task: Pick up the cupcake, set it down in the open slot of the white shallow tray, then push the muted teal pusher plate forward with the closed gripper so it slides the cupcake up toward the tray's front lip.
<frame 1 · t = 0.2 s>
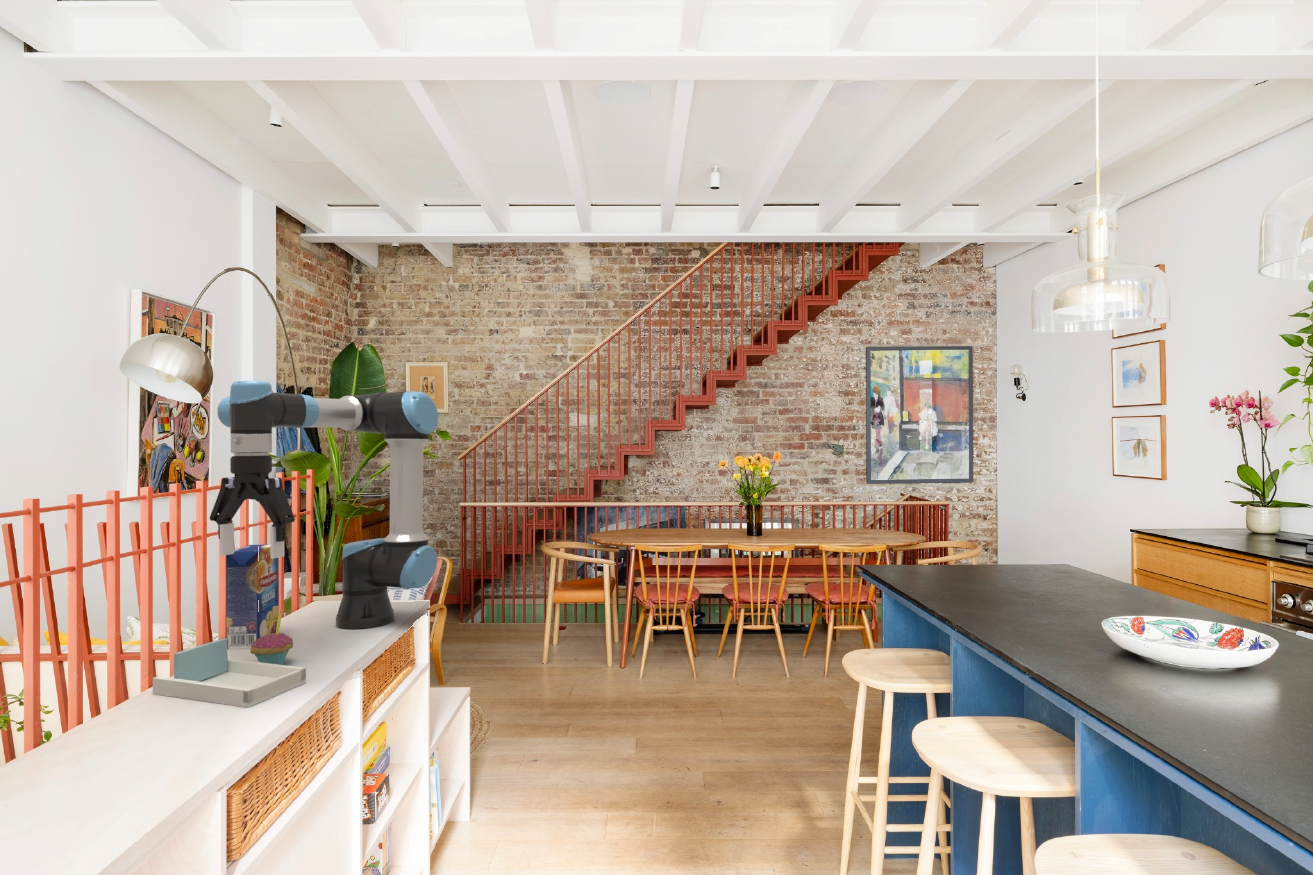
hand: (251, 556, 144), 27 cm above the sideboard, fingers open, 13 cm apart
cupcake: (272, 666, 156), on the sideboard
white shallow tray: (230, 688, 142), on the sideboard
pusher: (194, 661, 145), point 5 cm above the sideboard, slide at 0.0 cm
juice carton: (253, 642, 175), on the sideboard
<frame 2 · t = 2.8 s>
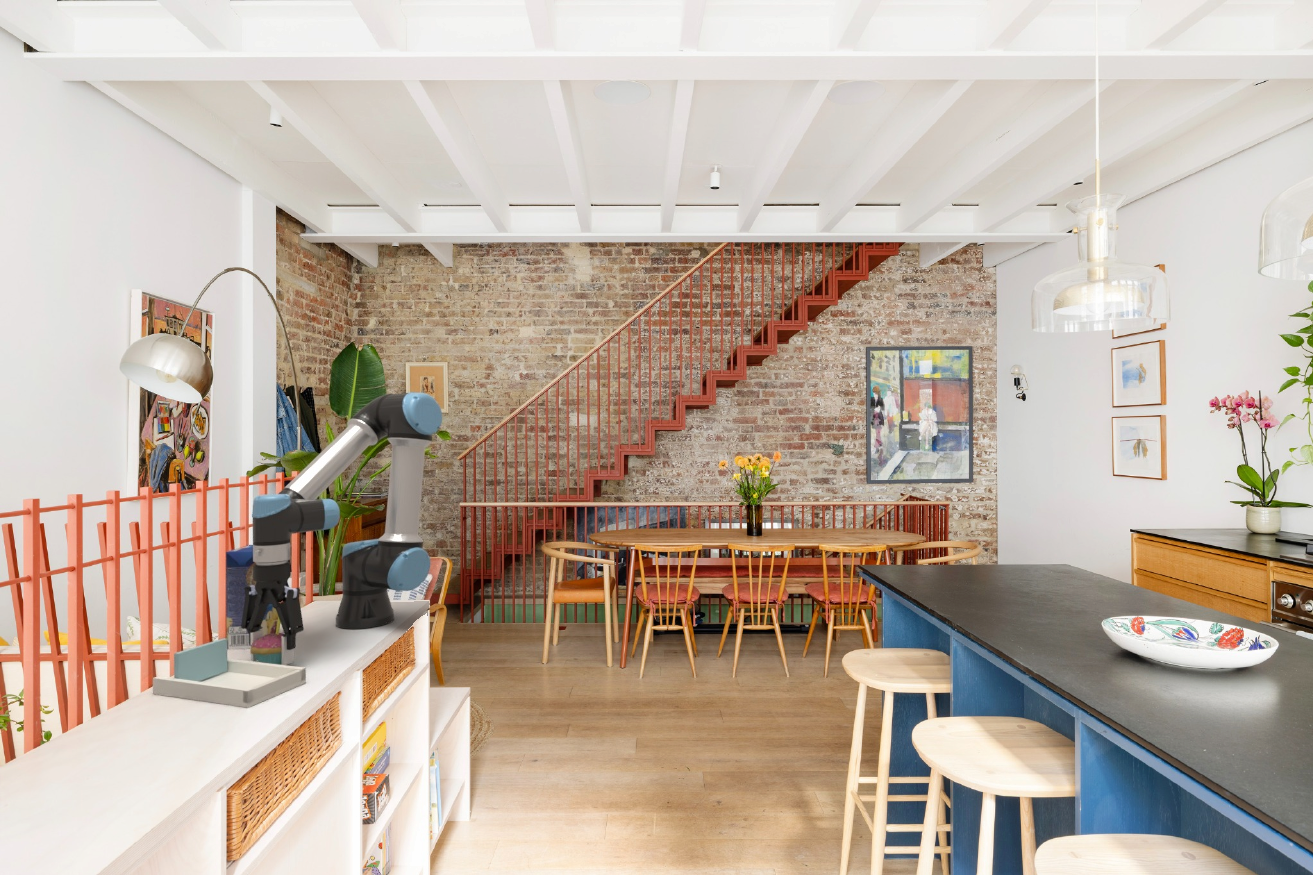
hand: (272, 661, 156), 1 cm above the sideboard, fingers closed on cupcake, 8 cm apart
cupcake: (272, 666, 156), on the sideboard, touching gripper
everything else where it was.
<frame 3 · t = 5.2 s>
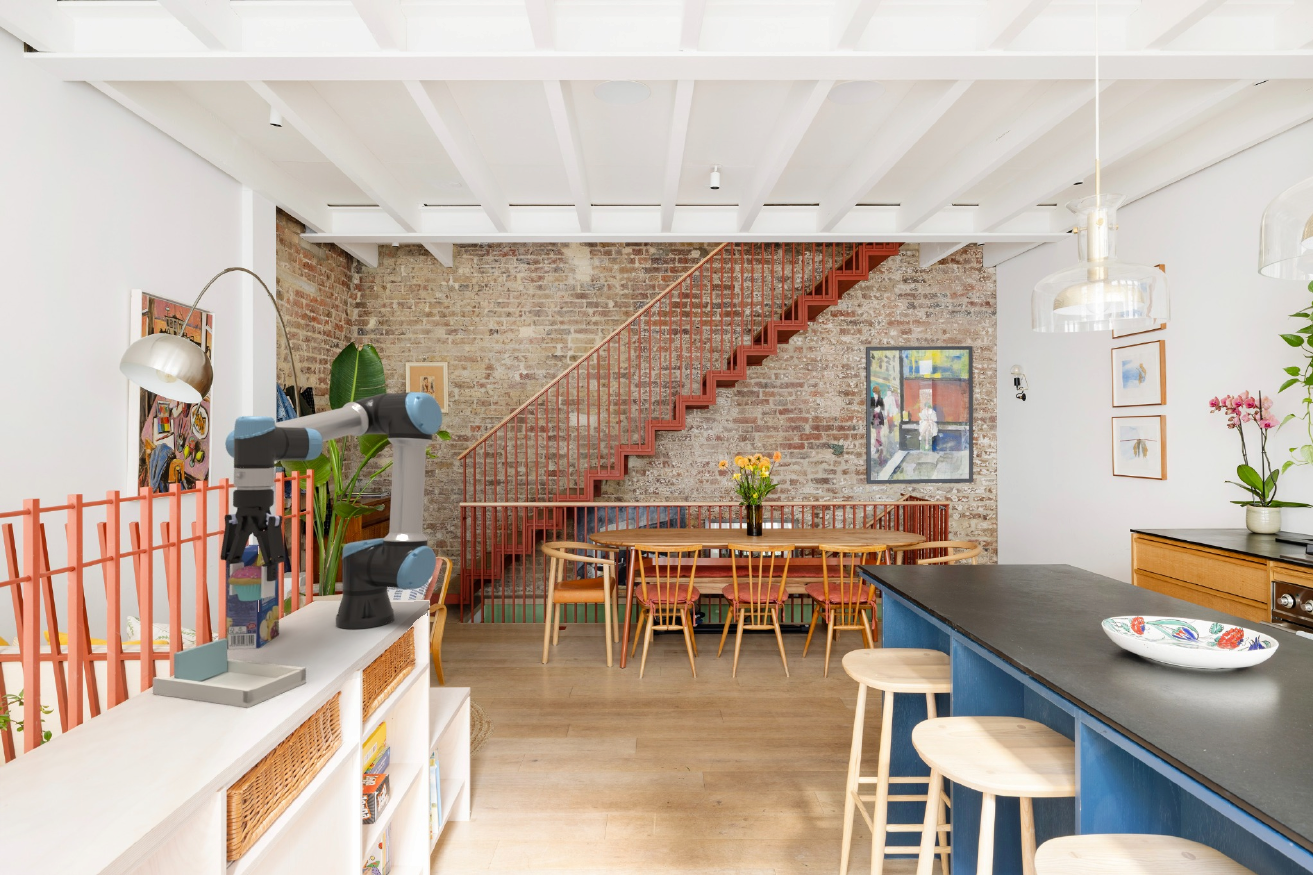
hand: (252, 595, 146), 18 cm above the sideboard, fingers closed on cupcake, 8 cm apart
cupcake: (252, 599, 146), point 17 cm above the sideboard, touching gripper
everything else where it was.
when the fingers open (4 cm above the sideboard, at t = 7.5 s): cupcake drops 2 cm, resting on white shallow tray.
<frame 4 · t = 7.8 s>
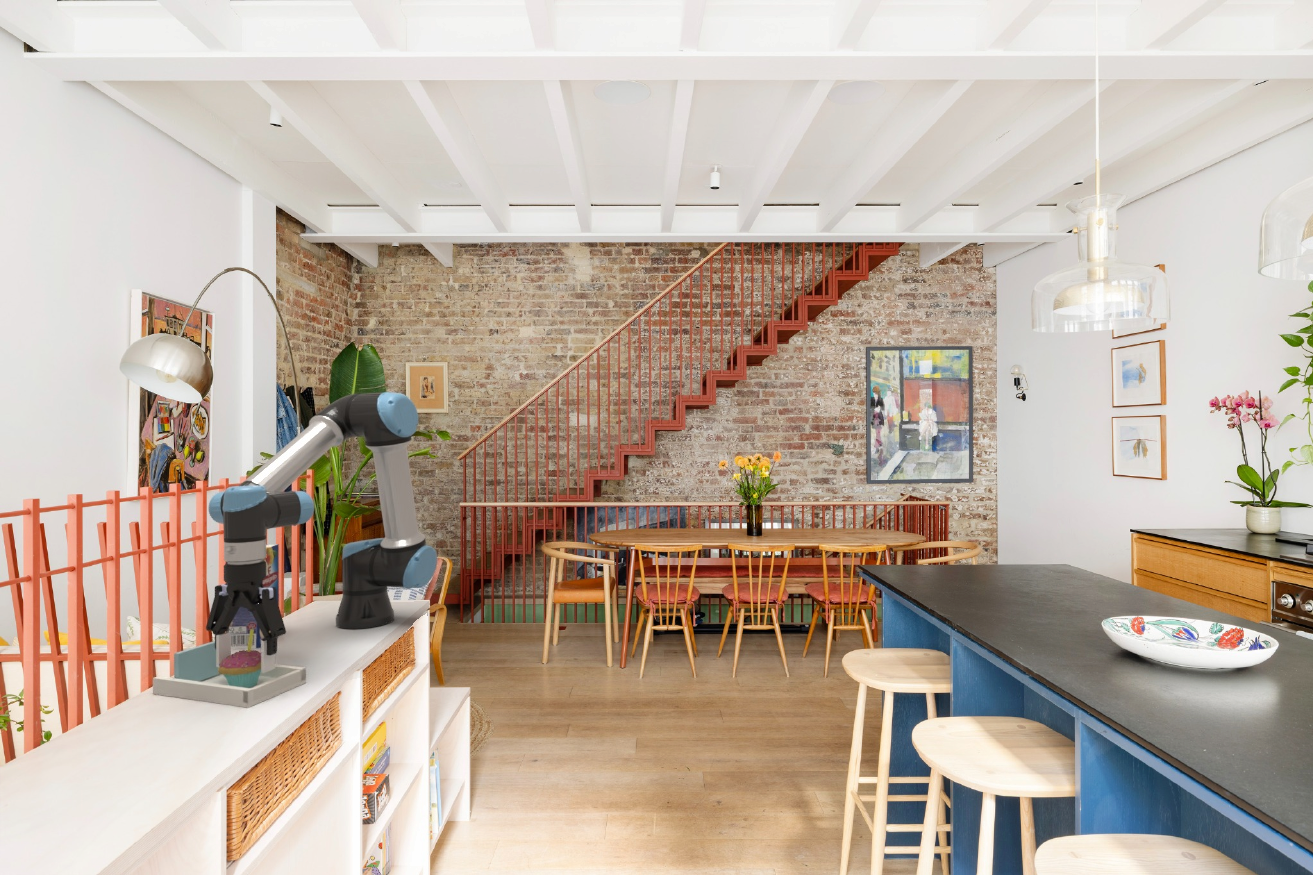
hand: (245, 667, 141), 5 cm above the sideboard, fingers open, 11 cm apart
cupcake: (243, 687, 141), point 1 cm above the sideboard, touching white shallow tray
everything else where it was.
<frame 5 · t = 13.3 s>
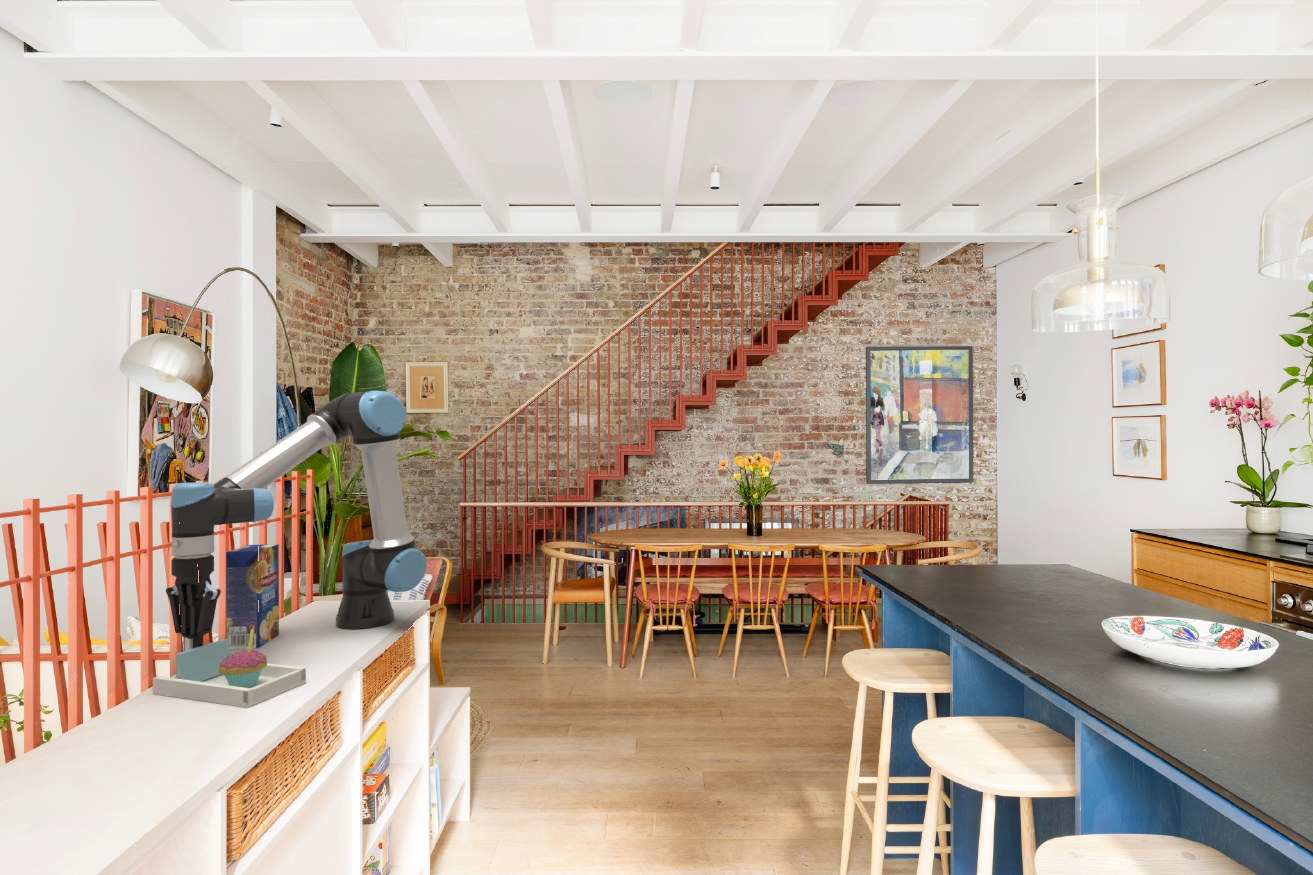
hand: (193, 667, 145), 3 cm above the sideboard, fingers closed
pusher: (196, 662, 145), point 5 cm above the sideboard, slide at 0.6 cm, touching gripper
everything else where it was.
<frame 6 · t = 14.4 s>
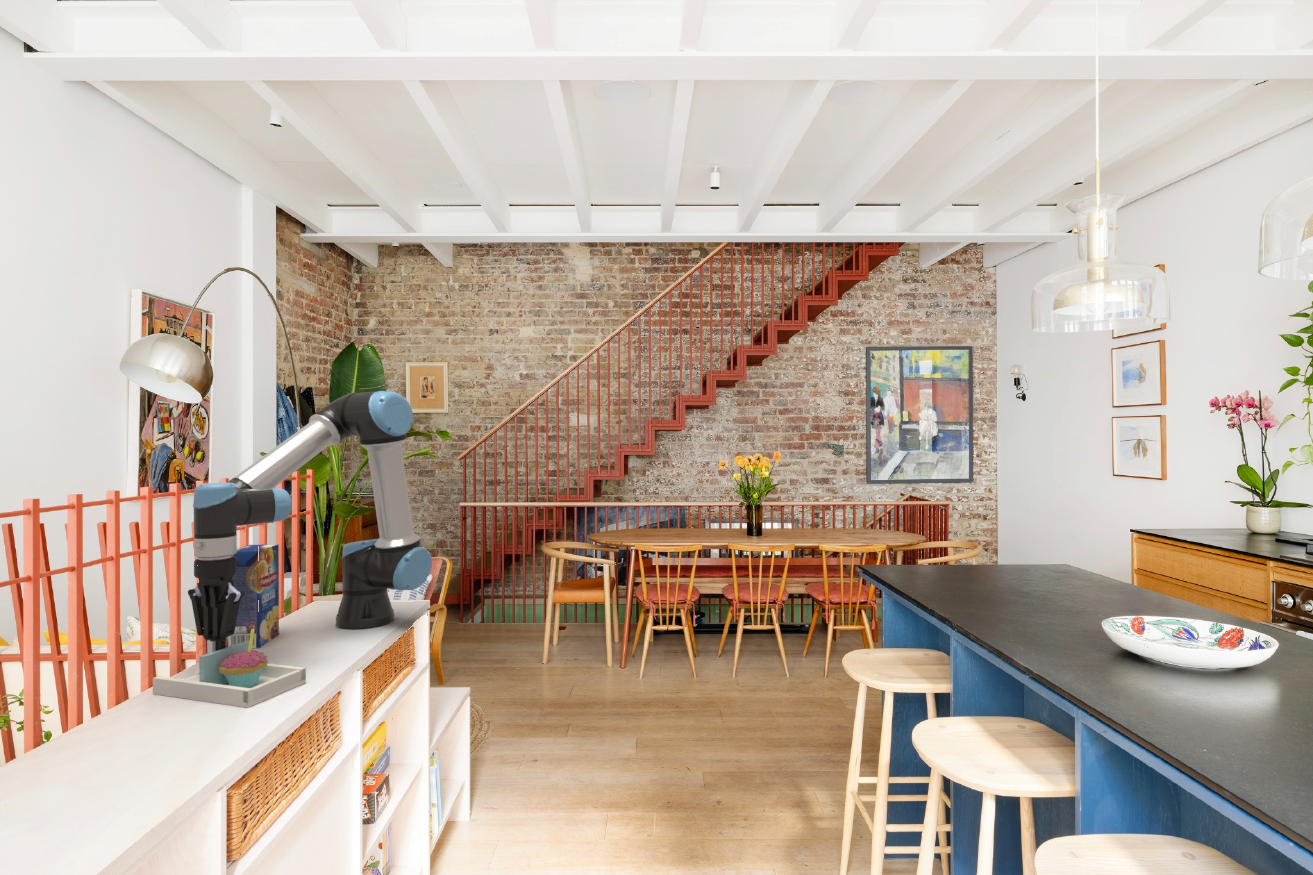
hand: (215, 669, 143), 3 cm above the sideboard, fingers closed
cupcake: (243, 687, 141), point 1 cm above the sideboard, touching pusher
pusher: (219, 664, 143), point 5 cm above the sideboard, slide at 6.8 cm, touching cupcake, gripper
everything else where it was.
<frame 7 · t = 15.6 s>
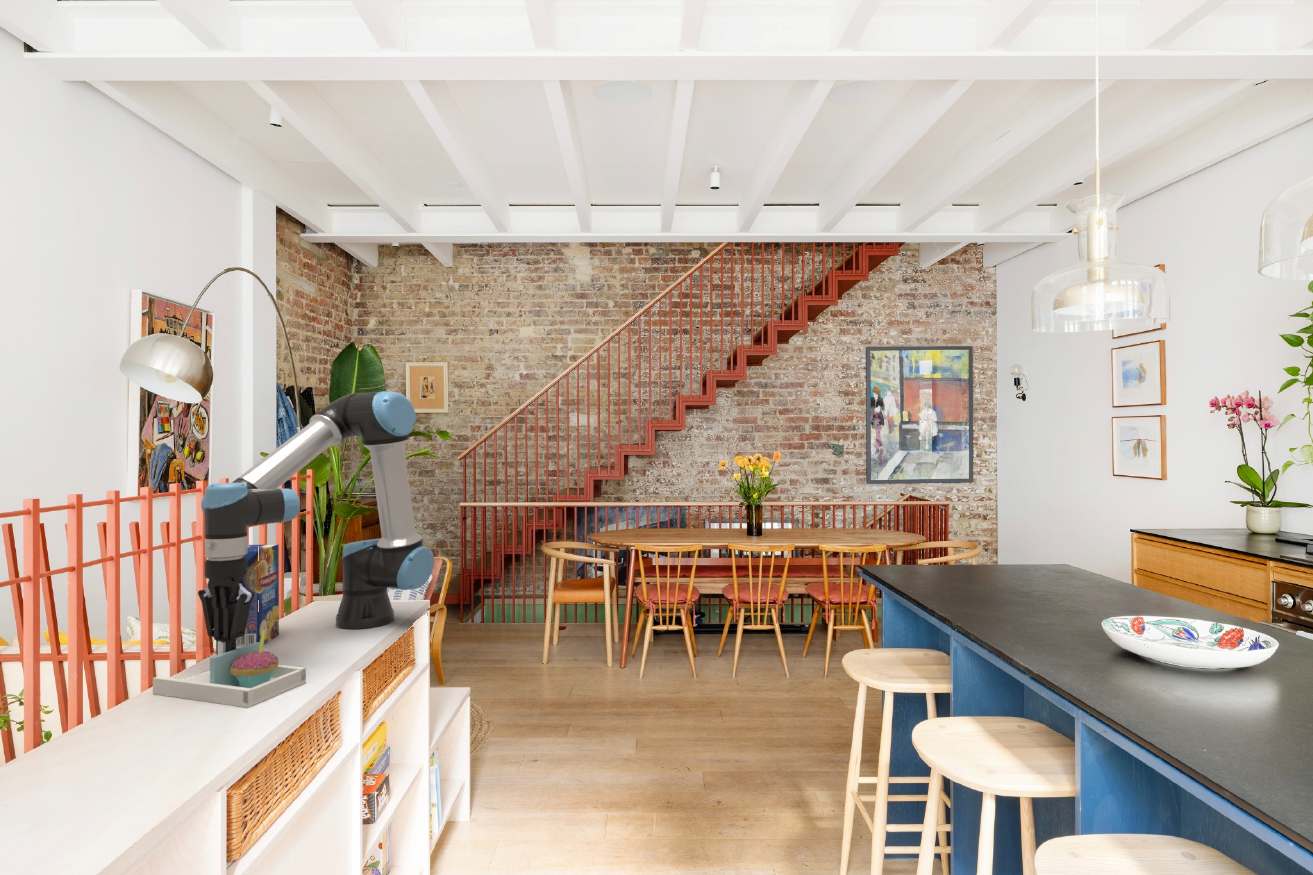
hand: (226, 671, 142), 3 cm above the sideboard, fingers closed
cupcake: (254, 688, 140), point 1 cm above the sideboard, touching white shallow tray, pusher
pusher: (229, 666, 142), point 5 cm above the sideboard, slide at 9.6 cm, touching cupcake, gripper
everything else where it was.
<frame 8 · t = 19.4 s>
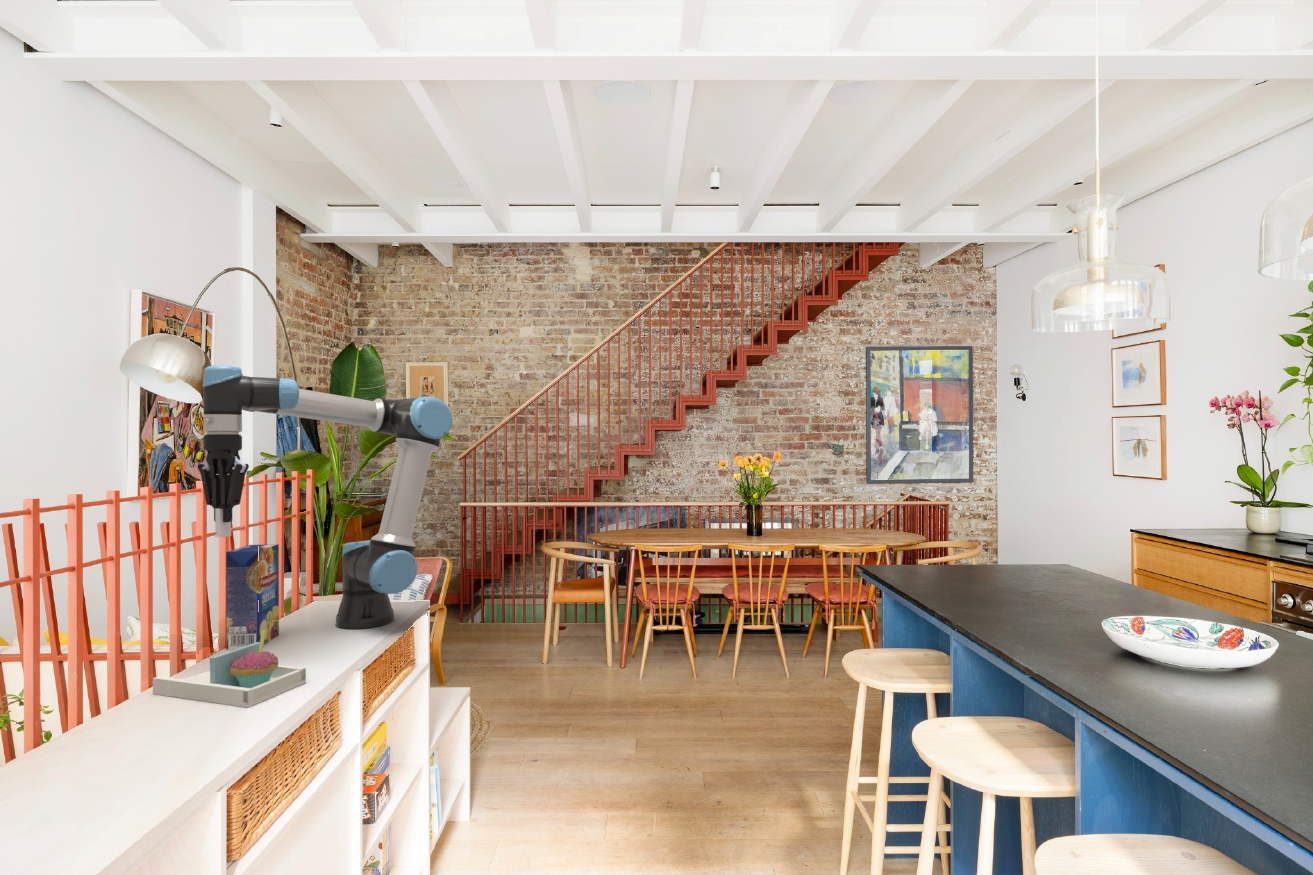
hand: (223, 536, 157), 29 cm above the sideboard, fingers closed
pusher: (229, 666, 142), point 5 cm above the sideboard, slide at 9.6 cm, touching cupcake
everything else where it was.
at the end: cupcake inside the target area (0.6 cm from its centre), point 0.6 cm above the sideboard; pusher slide at 9.6 cm; cupcake tilted 0° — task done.
